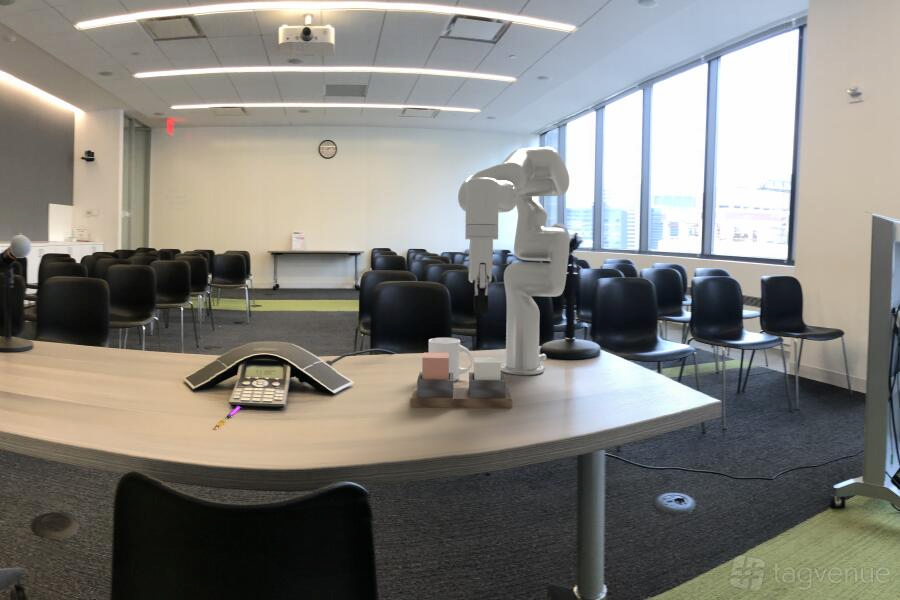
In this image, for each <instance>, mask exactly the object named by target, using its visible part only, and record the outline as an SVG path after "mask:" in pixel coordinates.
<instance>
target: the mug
mask: <svg viewBox="0 0 900 600" xmlns="http://www.w3.org/2000/svg"><path fill="white" fill-rule="evenodd" d="M428 353H449V372H454V374H453V382H455V381H457V380H459V379H460V376H461V375H464V374H467V373H469V371H470V370H471V368H472V367H473V366H472V365H473V355H472V354H471V351H470V350H469V349H468V348H467V347H465V346H463V345H461V340H460V339H459V338H454V337H435V338H430V339H428ZM461 353H465V354H467V356H469V359H470V364H469V365H468V367H466V368H464V367H461Z"/></svg>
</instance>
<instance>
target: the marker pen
mask: <svg viewBox="0 0 900 600" xmlns="http://www.w3.org/2000/svg"><path fill="white" fill-rule="evenodd" d="M240 408H242V407H240V406H238V405H237V406H236V407H235V408H234V409H232V410H231V411H230V412H229V413H228V414H227V415H226V416H225V417H226V418H225V419H224V418H223V419H221V420H220V421H218V423H217V424H215V426H214V428H215V427H220V426H221V425H222V424H223V423H225V422H226V423H227V420H228V419H227V418H230V417H231V416H233V415H234V414H235V413H236V412H237V411H238V412H239V411H241V410H240ZM238 412H237V413H238ZM237 413H236V414H237ZM236 414H235V415H236ZM235 415H234V416H235ZM234 416H233V417H234ZM231 418H232V417H231ZM231 418H230V419H231ZM226 419H227V420H226ZM226 423H225V424H226ZM223 425H224V424H223ZM223 425H222V426H223ZM222 426H221V427H222ZM221 427H220V428H221Z"/></svg>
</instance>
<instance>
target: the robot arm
mask: <svg viewBox="0 0 900 600" xmlns="http://www.w3.org/2000/svg"><path fill="white" fill-rule="evenodd" d="M569 186H570V175H569V171H568V169H567V166H566V164H565V163H564V161H563V158H562V156H561V155H560V154H559V152H558V150H556V149H555V148H553V147H551V146H543V147H542V146H541V147H540V146H538V147H525V148H519V149H515V150H514V151H512V152H511V153H510V154H509V155H508V156H507V157H506V158H505V159H504V160H503V161H502V162H501V163H498V164H496V165H493V166H490V167H487V168H485V169H483V170H479V171H477V172H475V173H472V174H471V175H470V176H468V177H467V178H466V179H465V180H464V181H463V183H462V184H461V185H460V187H459V190H458V195H457V201H458V205H459V207H460V208H461V209H462V210H463V212H465V226H464V227H465V229H464V231H465V237H464V238H465V240H469V250H468V281H469V282H470V283H472V284H473V282H474V295H473V313H474V314H488V313H489V296H488V290H489V289H488V285H489V283H491V282H492V279H493V278H492V276H493V262H494V258H493V257H494V253H493V252H494V240H499V214H500V213H508V212H511V211H513V210H514V209H515V208H516V209H517V220H516V221H517V223H516V230H515V236H514V245H513V247H514V248H513V252H514V255H515V257H516V258H517V259H519V260H524V261H523V262H522V261H519V262H514V263H510V264H508V266H507V267H506V268H505V269H504V271H503V284H504V290H505V297H506V298H505V299H506V301H505V302H506V324H505V325H506V327H505V328H506V329H505V330H506V332H505V335H506V337H505V339H506V340H505V363H503V364H502V363H501V372H502V373H504V374H505V373H506V374H511V375H517V376H531V375H532V376H533V375H538V374H542V373H543V372H545V371H544V370H545V367H544V366H543V365H541V362H542V361H545V360H547V354H545V353H542V354H541V353H540V317H541V316H540V315H541V313H540V309H539V306H538V304H537V303H536V301H535V300H534V299H533V297H555V298H556V297H560V296H561V295H562V294H563V292H564V290H565V286H566V281H567V272H568V265H569V255H570V238H569V235H568V233H567V231H566V230H565V229H563V228H561V227H547V218H548V213H547V211H546V210H545V208H544V207H543V205H541V203H540V202H539V201H538V200H537V199H536V198H535V197H559V196H563V195H565V193H567V191H568V189H569ZM525 261H526V262H525ZM528 261H529V262H528ZM531 261H532V262H531ZM533 261H535V262H533ZM536 261H537V262H536ZM538 261H540V262H538ZM541 261H542V262H541ZM543 261H544V262H543ZM545 261H547V262H545Z"/></svg>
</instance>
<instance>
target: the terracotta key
mask: <svg viewBox="0 0 900 600" xmlns="http://www.w3.org/2000/svg"><path fill="white" fill-rule="evenodd" d="M421 361H422V367H421V368H422V371H421V372H422V379H427V380H449V353H429V352H423V354H422V359H421Z"/></svg>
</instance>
